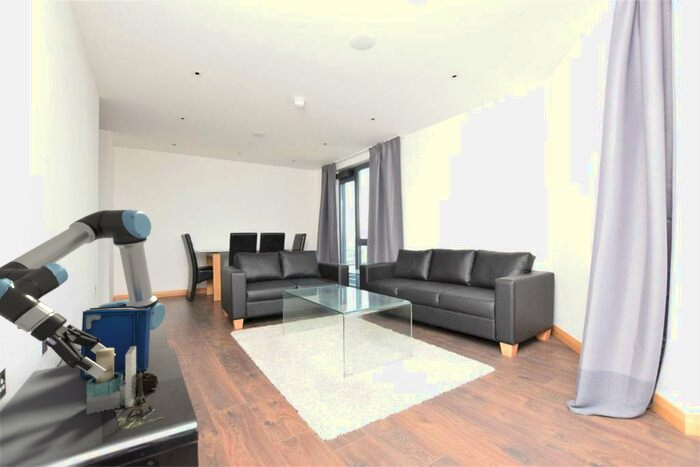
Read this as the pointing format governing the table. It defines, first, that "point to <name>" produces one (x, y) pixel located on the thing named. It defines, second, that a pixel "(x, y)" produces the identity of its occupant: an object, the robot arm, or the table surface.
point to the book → (118, 334)
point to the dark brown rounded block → (146, 381)
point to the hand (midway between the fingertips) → (107, 365)
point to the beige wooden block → (105, 364)
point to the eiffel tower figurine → (137, 411)
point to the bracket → (114, 388)
